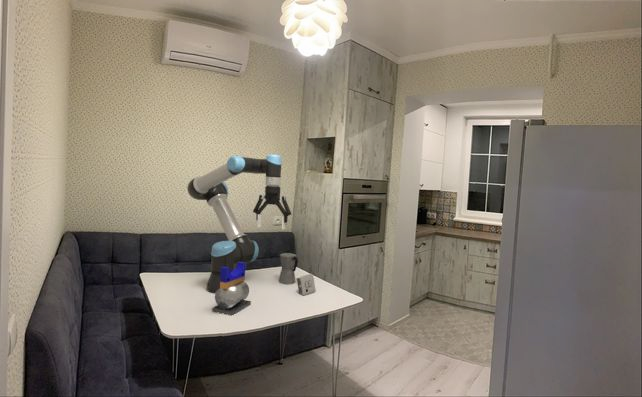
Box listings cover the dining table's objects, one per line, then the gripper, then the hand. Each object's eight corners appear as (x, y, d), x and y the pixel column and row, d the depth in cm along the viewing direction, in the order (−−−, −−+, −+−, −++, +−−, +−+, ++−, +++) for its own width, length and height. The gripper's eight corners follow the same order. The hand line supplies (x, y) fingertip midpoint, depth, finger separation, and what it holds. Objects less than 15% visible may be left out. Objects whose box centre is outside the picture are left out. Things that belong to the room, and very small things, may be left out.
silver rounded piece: (232, 315, 136) (233, 284, 136) (211, 311, 139) (212, 280, 139) (250, 304, 149) (251, 275, 149) (231, 300, 153) (232, 272, 152)
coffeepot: (273, 280, 188) (274, 248, 187) (287, 277, 194) (289, 247, 193) (288, 287, 176) (290, 253, 175) (303, 284, 182) (304, 251, 181)
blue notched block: (236, 274, 149) (237, 261, 149) (244, 276, 147) (245, 262, 147) (217, 281, 139) (218, 266, 138) (226, 282, 137) (226, 268, 136)
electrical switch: (303, 296, 164) (303, 277, 164) (295, 294, 167) (295, 276, 167) (315, 292, 171) (315, 273, 171) (308, 290, 174) (307, 272, 174)
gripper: (247, 184, 168) (245, 226, 169) (292, 187, 160) (290, 231, 161) (254, 184, 175) (253, 225, 176) (298, 187, 167) (297, 229, 168)
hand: (271, 228), depth 168 cm, fingers open, 13 cm apart
